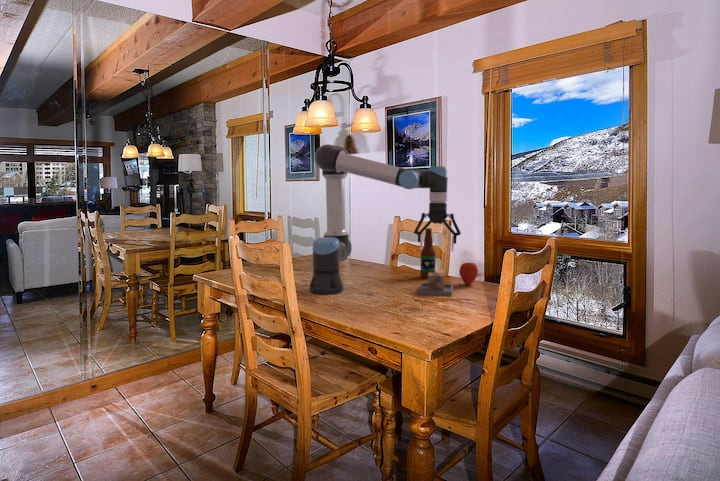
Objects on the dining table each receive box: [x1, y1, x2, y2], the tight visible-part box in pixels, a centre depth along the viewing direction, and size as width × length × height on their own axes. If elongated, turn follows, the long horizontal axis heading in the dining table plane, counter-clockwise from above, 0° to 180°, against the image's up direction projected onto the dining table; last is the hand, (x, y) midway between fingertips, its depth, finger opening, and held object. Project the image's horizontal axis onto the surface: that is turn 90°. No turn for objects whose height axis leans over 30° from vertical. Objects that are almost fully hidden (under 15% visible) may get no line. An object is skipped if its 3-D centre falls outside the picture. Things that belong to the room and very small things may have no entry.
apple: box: [459, 262, 479, 285], centre depth 218 cm, size 9×8×11 cm
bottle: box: [420, 227, 436, 280], centre depth 233 cm, size 7×7×25 cm
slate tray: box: [418, 282, 453, 297], centre depth 206 cm, size 14×14×2 cm
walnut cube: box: [427, 272, 445, 291], centre depth 206 cm, size 7×7×7 cm
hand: (436, 250), depth 204 cm, fingers open, 13 cm apart
